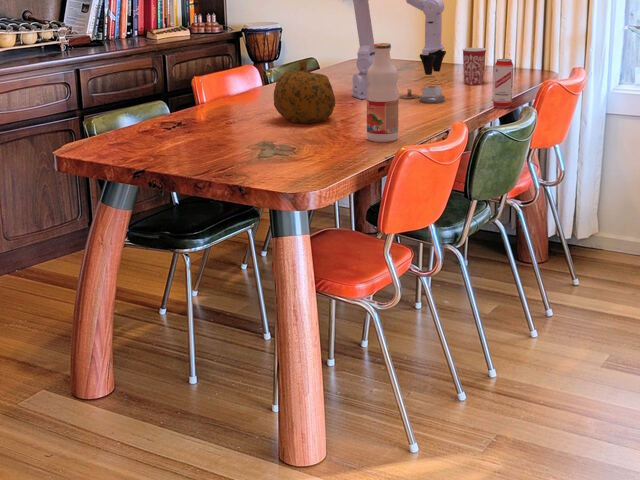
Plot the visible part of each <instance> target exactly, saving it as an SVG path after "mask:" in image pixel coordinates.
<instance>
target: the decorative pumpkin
mask: <svg viewBox="0 0 640 480" xmlns="http://www.w3.org/2000/svg"><path fill="white" fill-rule="evenodd" d="M331 84H332V83H331V82H330V79H329V77H328V76H327V75H326V74H322V73H319V72H318V73H315V72H311V71H308V68H307V60H300V61H299V70H297V69H296V70H287V71H285V72H284V73H283V74H281V76H280V77H279V78H278V79H277V81H276V82H275V87H274V91H273V105H274V108H275V109H276V112H278V113H279V115H281V116H282V117H283V118H285V120H288V121H290V122H292V123H295V124H296V123H297V124H300V123H302V124H307V125H310V124H312V123H314V122H315V123H316V122H322V121H325V120H326V119H328V118H329V117H330V116H331V115H332V114H333V112H334V110H335V109H334V108H335V107H336V95H335V93H334V91H333V90H334V89H333V86H332V85H331Z"/></svg>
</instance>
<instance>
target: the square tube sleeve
mask: <svg viewBox="0 0 640 480" xmlns="http://www.w3.org/2000/svg"><path fill="white" fill-rule="evenodd" d="M442 88H443V87H442V85H426V86H422V88H421V89H422V91H421V93H422V94H421V96H422V98H435V99H436V98H438V97H440V96H441V95H442Z"/></svg>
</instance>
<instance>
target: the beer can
mask: <svg viewBox="0 0 640 480" xmlns="http://www.w3.org/2000/svg"><path fill="white" fill-rule="evenodd" d="M512 60H513V59H510V58H499V59H496V62H495V63H494V75H493V95H492V96H493V97H492V98H493V101H492V104H493V106H494V107H495V108H497V109H508V108H510V107H511V106H512V104H513V83H514V81H513V79H514V77H513V76H514V63H513V61H512Z"/></svg>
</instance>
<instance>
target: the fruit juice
mask: <svg viewBox="0 0 640 480" xmlns="http://www.w3.org/2000/svg"><path fill="white" fill-rule="evenodd" d="M391 49H392V46H391V43H388V42H380V43H379V42H378V43H374V50H375V56H374V60H373V63H372V65H371V66H370V67H369V69H368V71H367V80H368V84H369V86H368V89H367V97H366V138H367V140H368V141H371V142H376V143H387V142H388V143H389V142H394V141H397V140H398V139H399V99H400V95H399V88H398V86H397V83H398V78H399V72H398V69H397V67H396V66H395V65H394V63H393V61H392V57H391Z"/></svg>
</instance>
